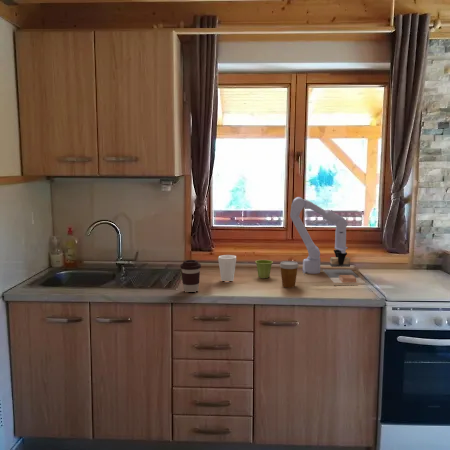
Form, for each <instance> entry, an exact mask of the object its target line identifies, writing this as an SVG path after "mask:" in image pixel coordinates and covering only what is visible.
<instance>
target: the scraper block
mask: <svg viewBox="0 0 450 450" xmlns="http://www.w3.org/2000/svg"><path fill="white" fill-rule="evenodd" d="M329 266H330V267H331V268H333V267H334V268H343V267H344V268H346V267H347V268H348V267H351V258H350V257H349V256H346V257H345V259H344V263H343V265H339V262H338V257H336V256H333V257H332V256H331V257H330V258H329Z"/></svg>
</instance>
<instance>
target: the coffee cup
mask: <svg viewBox="0 0 450 450" xmlns="http://www.w3.org/2000/svg"><path fill="white" fill-rule="evenodd" d="M179 266H180V269H181V280H182V281H181V282H182V288H183V292H184V291H186V292H195V293H197V292H196V291H199V289H200V288H199V287H200V277H201V276H200V275H201V270H200V269H201V268H202V267H201V266H202V264H201V263H199V262H198V260H195V259H187V260H183V262H182V263H181V264H180V265H179ZM186 292H185V293H186Z"/></svg>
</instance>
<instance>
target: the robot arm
mask: <svg viewBox="0 0 450 450" xmlns="http://www.w3.org/2000/svg"><path fill="white" fill-rule="evenodd" d="M290 207H291V208H290V216H289V217H290V220H291V221H292V223H293V225H294V226H295V229H296V231H297V233H298V234H299V236H300V238H301V239H302V241H303V243H304V246H305V248H306V250H307V253H308V256H307V257H306V258H304V259H302V274H303V275H305V274H315V275H316V274H320V273H321V257H320V256H321V252H320V248H319V247H318V246H317V245H316V244H315V243H314V241H313V240H312V238H311V235H310V234H309V232H308V230H307V229H306V226H305V225H304V223H303V220H302V219H301V217H300V214H301V212H302V210H303V209H304V210H309V209H310V210H311V211H313V212H315V213H317V214H319V215H321V216H322V219H323V220H325V221H326V222H328V223H330V224H332V226H333V225H335V232H334V233H335V235H334V236H335V237H334V239H335V240H334V249H333V252H334V257H338V262H339V265H343V263H344V259H345V257H347V255H348V253H347V252H348V251H346V250H348V249H349V248H348V246H347V226H348V222H347V219H345V218H344V217H343V216H341V215H340V214H337V213H336V212H334V210H332V209H327V210H326V209H324V208H322V207H320V206H319V205H317V204H315V203H314V202H312V201H310V200H308V199H305V198H304V199H303V198H302V197H301V196H296V197H294V199H292V203H291V206H290Z"/></svg>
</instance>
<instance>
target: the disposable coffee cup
mask: <svg viewBox="0 0 450 450" xmlns="http://www.w3.org/2000/svg"><path fill="white" fill-rule="evenodd" d="M279 267H280V276H281V285H282V287H283V286H284V288H287V287H288V288H291V287H292V288H295V287H296V280H297V274H298V268H299V263H298V262H297V261H293V260H292V261H291V260H284V261H280V264H279ZM292 288H291V289H292Z"/></svg>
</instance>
